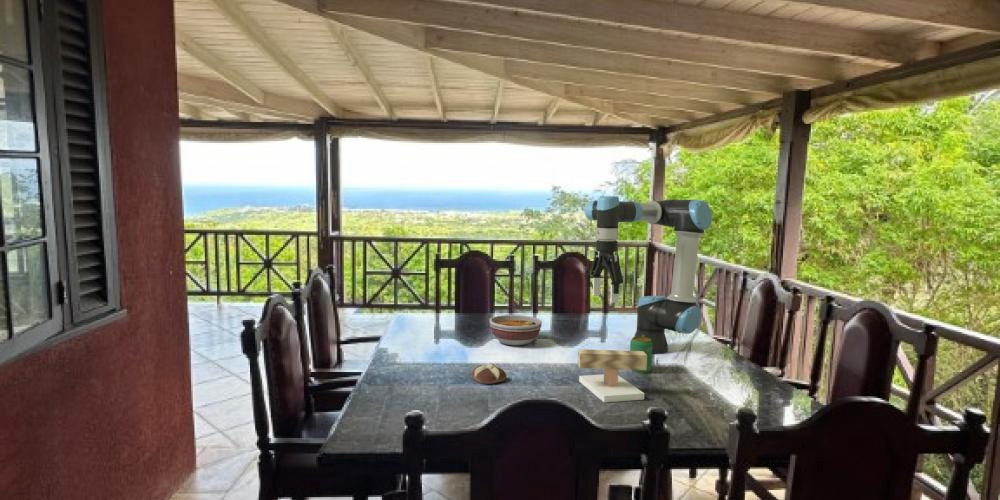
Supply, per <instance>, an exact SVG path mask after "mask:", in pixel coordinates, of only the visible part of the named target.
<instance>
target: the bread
mask: <svg viewBox="0 0 1000 500" xmlns="http://www.w3.org/2000/svg"><path fill="white" fill-rule="evenodd" d="M506 378H507V374H506V372H505V370H504V369H502V368H500V367H499V366H498V365H495V364H494V363H489V364H487V365H484V364H480V365H478V366H476V367H475V368H474V369H473V370H472V372H471V379H472V380H474V381H476V382H477V383H480V384H483V385H491V384H497V383H501V382H504V381H505V380H506Z"/></svg>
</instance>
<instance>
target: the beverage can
mask: <svg viewBox="0 0 1000 500" xmlns="http://www.w3.org/2000/svg"><path fill="white" fill-rule="evenodd" d="M629 345H630V346H629V351H644V352H645V354H646V355H647V369H646V370H632V371H631V372H633V371H634V373H637V372H638V373H637V374H647V373H649V372H651V370H652V359H653V357H652V355H653V354H652V342H651V339H649V338H646V337H634V336H633V337H632V338H631V340H630V344H629Z"/></svg>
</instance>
